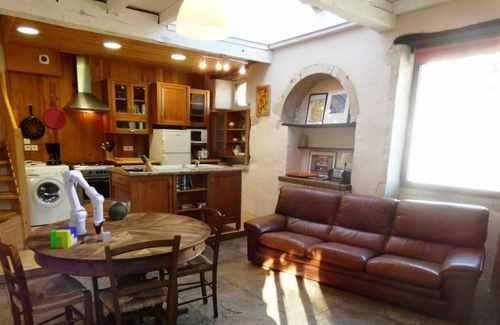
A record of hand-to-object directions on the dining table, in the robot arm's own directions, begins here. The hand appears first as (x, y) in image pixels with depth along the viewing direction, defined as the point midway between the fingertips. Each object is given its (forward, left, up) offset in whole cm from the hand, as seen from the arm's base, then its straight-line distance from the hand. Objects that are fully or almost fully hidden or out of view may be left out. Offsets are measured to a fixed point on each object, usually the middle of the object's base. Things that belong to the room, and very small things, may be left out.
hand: (98, 233), depth 202 cm
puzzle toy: (-18, -13, -2) cm, 22 cm away
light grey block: (+6, -12, -2) cm, 14 cm away
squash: (+9, +40, -2) cm, 41 cm away
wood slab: (-3, -11, -2) cm, 12 cm away
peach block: (0, 0, -1) cm, 1 cm away
